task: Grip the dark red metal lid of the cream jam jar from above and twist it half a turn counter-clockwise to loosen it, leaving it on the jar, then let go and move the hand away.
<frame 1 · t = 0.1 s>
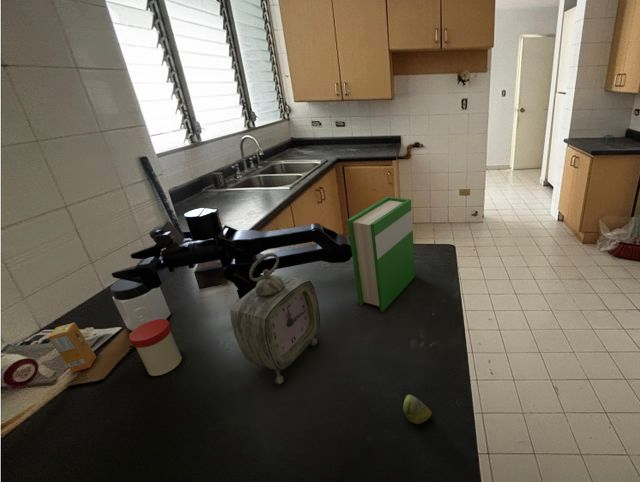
hand: (122, 265, 78), 17 cm above the worktop, tool horizontal, fingers open, 9 cm apart
jam lid: (150, 331, 68), point 9 cm above the worktop, screwed on, not yet turned
beverage carton: (219, 272, 105), on the worktop
tabletop clock: (287, 360, 71), on the worktop
hardback book: (388, 290, 93), on the worktop
jam jar: (165, 364, 71), on the worktop
supplement box: (84, 366, 72), on the worktop
jar: (150, 321, 85), on the worktop
lime: (418, 419, 57), on the worktop
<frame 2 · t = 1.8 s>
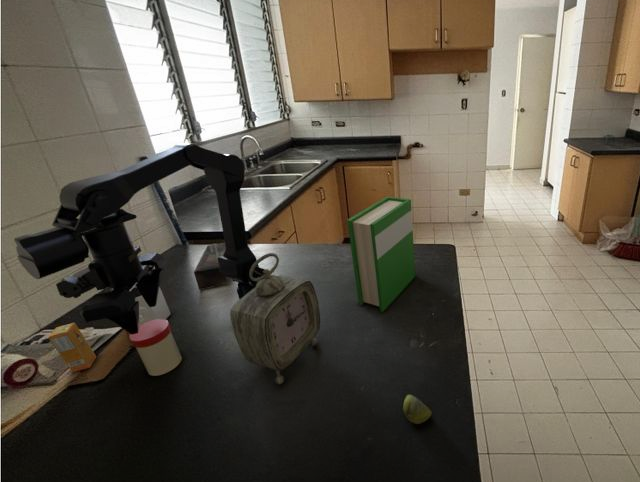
hand: (144, 319, 66), 12 cm above the worktop, tool pointing down, fingers open, 8 cm apart
nothing on the worktop moved.
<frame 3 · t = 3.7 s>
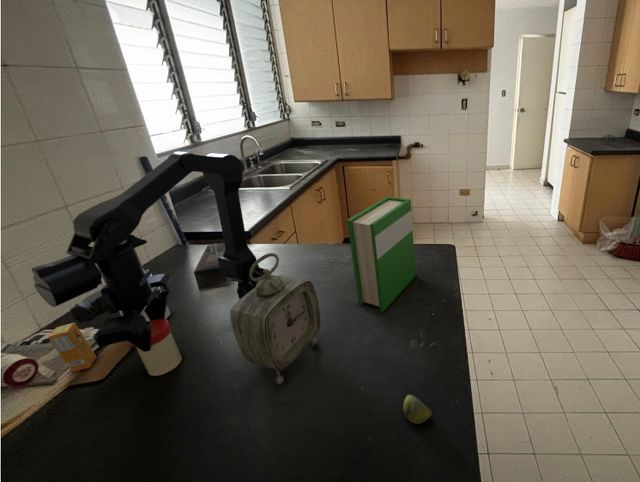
hand: (153, 339, 68), 7 cm above the worktop, tool pointing down, fingers closed on jam lid, 6 cm apart
jam lid: (150, 331, 68), point 9 cm above the worktop, screwed on, not yet turned, touching gripper
everything else where it was.
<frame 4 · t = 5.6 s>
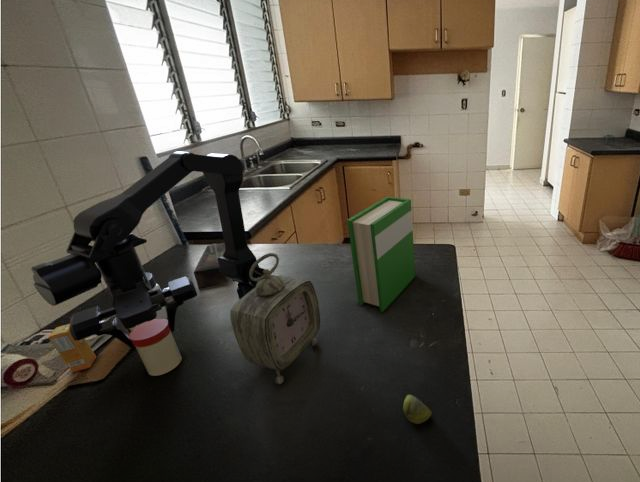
hand: (153, 338, 68), 7 cm above the worktop, tool pointing down, fingers closed on jam lid, 6 cm apart
jam lid: (149, 330, 68), point 9 cm above the worktop, turned 114° so far, risen 0.1 cm, still on its thread, touching gripper
everything else where it was.
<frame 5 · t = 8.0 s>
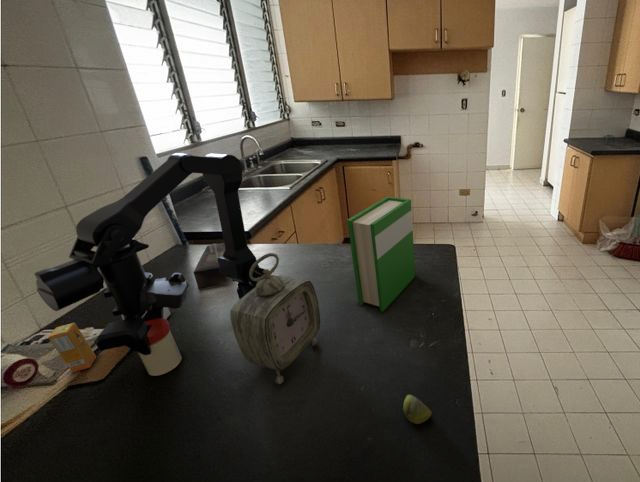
hand: (154, 343, 69), 6 cm above the worktop, tool pointing down, fingers closed on jam lid, 6 cm apart
jam lid: (149, 330, 67), point 9 cm above the worktop, turned 180° so far, risen 0.2 cm, still on its thread, touching gripper
jam jar: (165, 364, 71), on the worktop, touching gripper
everything else where it was.
when the fingers open (4 cm above the worktop, at t = 9.7 s): jam lid stays where it is, point 9 cm above the worktop.
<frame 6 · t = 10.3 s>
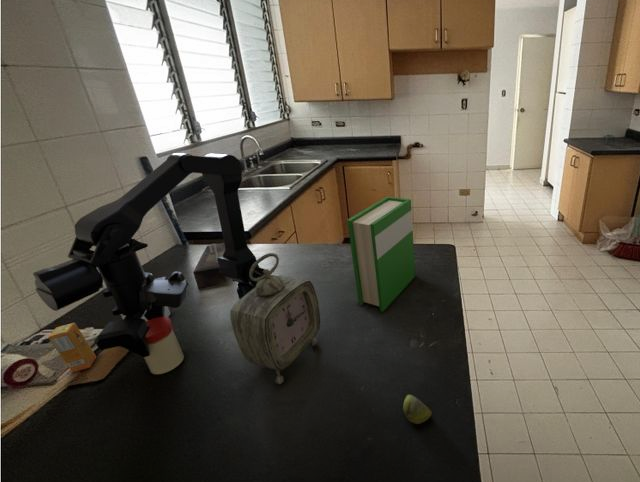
hand: (154, 342, 69), 6 cm above the worktop, tool pointing down, fingers open, 7 cm apart
jam lid: (152, 328, 68), point 9 cm above the worktop, turned 180° so far, risen 0.2 cm, still on its thread
jam jar: (167, 362, 71), on the worktop
everything else where it was.
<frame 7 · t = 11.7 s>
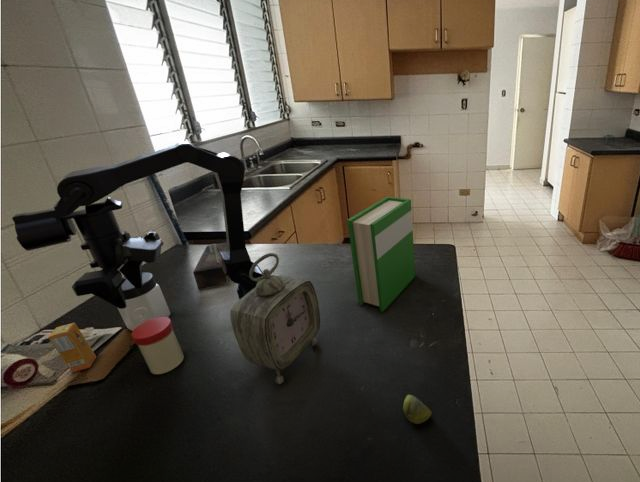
hand: (131, 297, 74), 12 cm above the worktop, tool pointing down, fingers open, 7 cm apart
nothing on the worktop moved.
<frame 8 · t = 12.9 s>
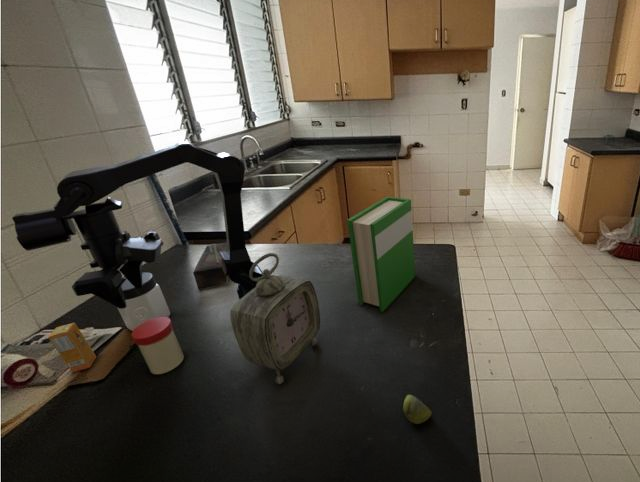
hand: (131, 297, 74), 12 cm above the worktop, tool pointing down, fingers open, 7 cm apart
nothing on the worktop moved.
at the end: jam lid turned 0.50 turns (still on its thread); jam lid is still on its thread (0.50 turns); jam jar tilted 0° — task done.
